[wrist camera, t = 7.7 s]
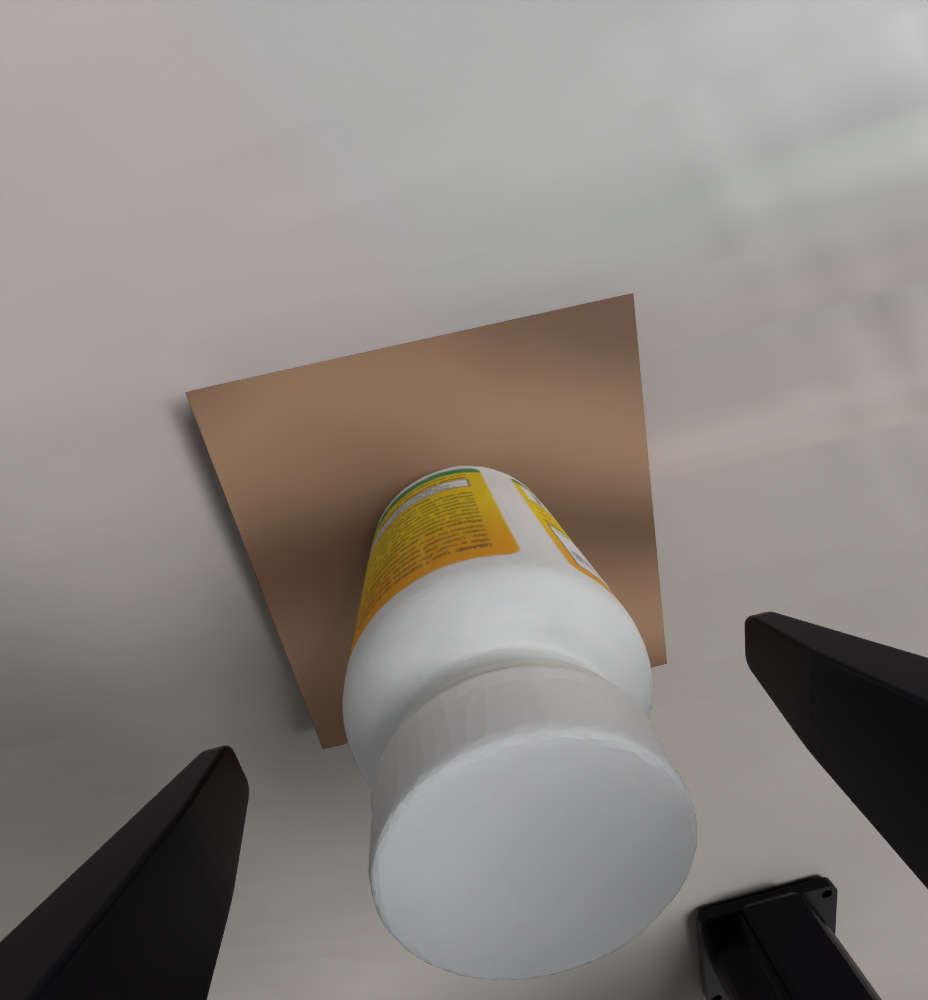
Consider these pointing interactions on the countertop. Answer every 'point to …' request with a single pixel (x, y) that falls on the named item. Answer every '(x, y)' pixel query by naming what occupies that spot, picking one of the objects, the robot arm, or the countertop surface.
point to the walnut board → (433, 465)
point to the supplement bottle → (506, 739)
